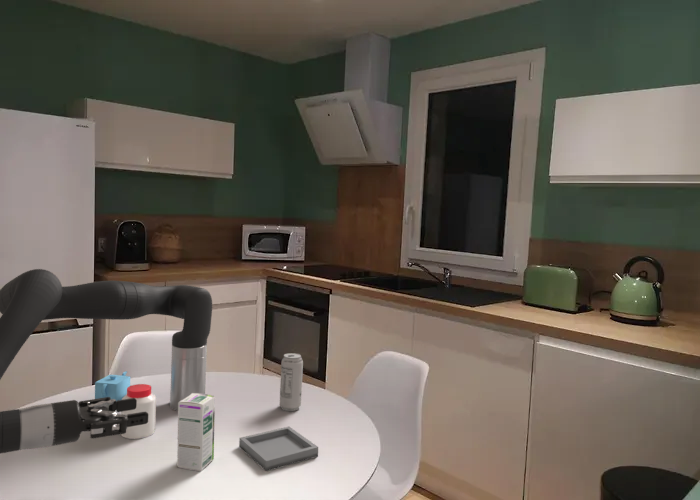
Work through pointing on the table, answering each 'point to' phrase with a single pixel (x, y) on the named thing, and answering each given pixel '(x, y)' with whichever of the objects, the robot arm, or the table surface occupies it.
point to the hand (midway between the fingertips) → (141, 410)
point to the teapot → (112, 386)
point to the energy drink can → (291, 382)
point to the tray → (278, 448)
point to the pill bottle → (144, 404)
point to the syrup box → (196, 431)
